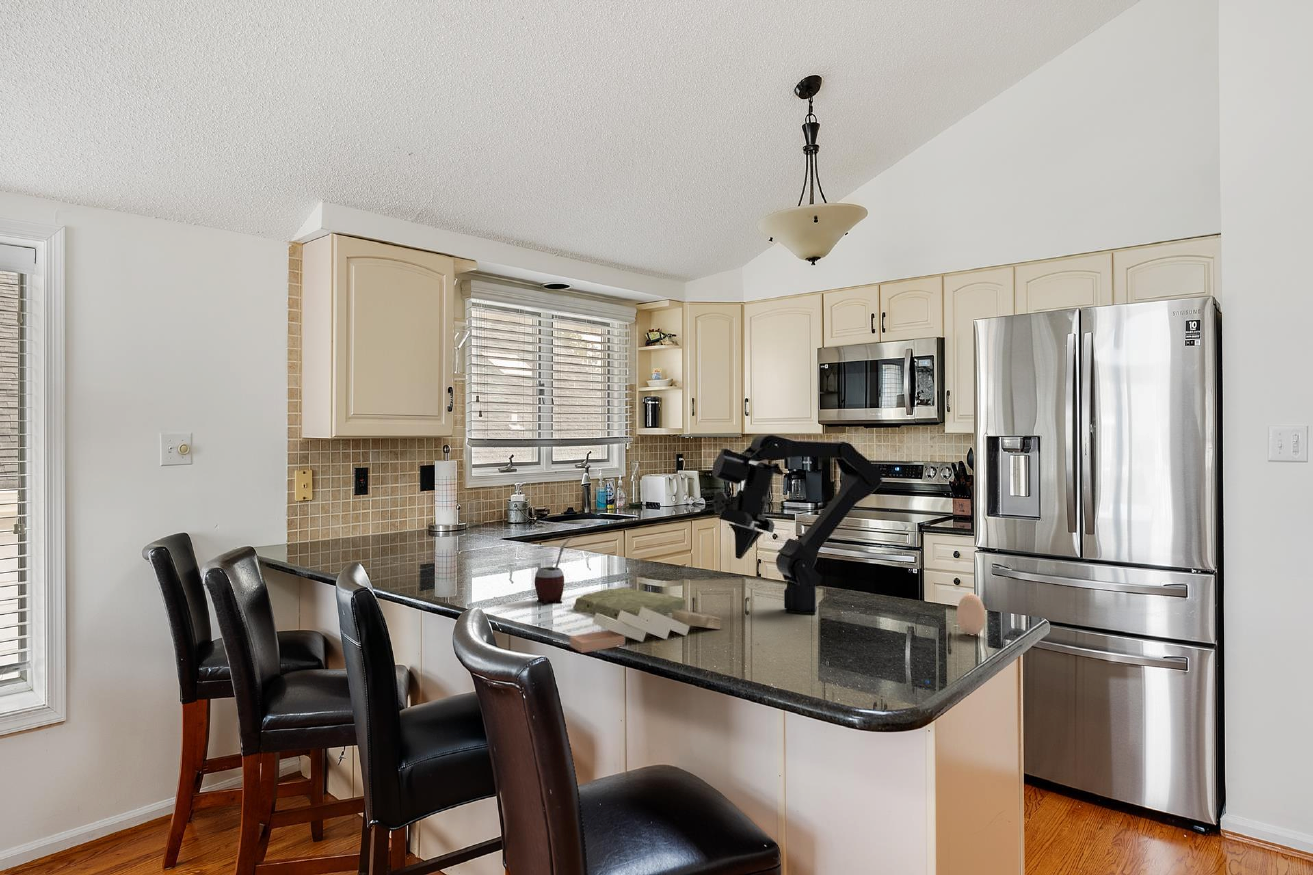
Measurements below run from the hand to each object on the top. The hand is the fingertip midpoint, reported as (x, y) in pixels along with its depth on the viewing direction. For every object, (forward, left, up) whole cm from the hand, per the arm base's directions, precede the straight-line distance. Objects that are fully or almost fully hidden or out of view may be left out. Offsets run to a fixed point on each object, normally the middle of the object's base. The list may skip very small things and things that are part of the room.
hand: (738, 558), depth 159 cm
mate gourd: (+45, 0, -13) cm, 47 cm away
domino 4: (+8, +18, -12) cm, 23 cm away
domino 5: (+3, +11, -12) cm, 16 cm away
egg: (-47, +3, -13) cm, 49 cm away
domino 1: (+18, +27, -12) cm, 35 cm away
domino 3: (+11, +21, -12) cm, 27 cm away
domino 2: (+15, +24, -12) cm, 31 cm away
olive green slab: (+25, +2, -13) cm, 28 cm away
